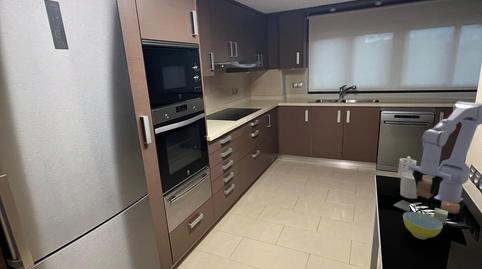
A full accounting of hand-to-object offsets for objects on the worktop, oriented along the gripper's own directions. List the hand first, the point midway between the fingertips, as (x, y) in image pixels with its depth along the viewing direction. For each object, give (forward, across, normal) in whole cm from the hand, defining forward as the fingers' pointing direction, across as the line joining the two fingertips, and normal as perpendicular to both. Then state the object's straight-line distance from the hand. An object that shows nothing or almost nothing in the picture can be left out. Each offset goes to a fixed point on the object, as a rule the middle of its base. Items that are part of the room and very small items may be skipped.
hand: (425, 191), depth 107 cm
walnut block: (+2, 0, 0) cm, 2 cm away
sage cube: (+9, +8, -4) cm, 12 cm away
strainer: (+9, -15, +19) cm, 26 cm away
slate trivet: (+8, -4, -2) cm, 10 cm away
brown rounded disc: (+9, +7, +9) cm, 14 cm away
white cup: (+9, -9, +10) cm, 16 cm away
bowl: (+9, +7, -21) cm, 24 cm away
